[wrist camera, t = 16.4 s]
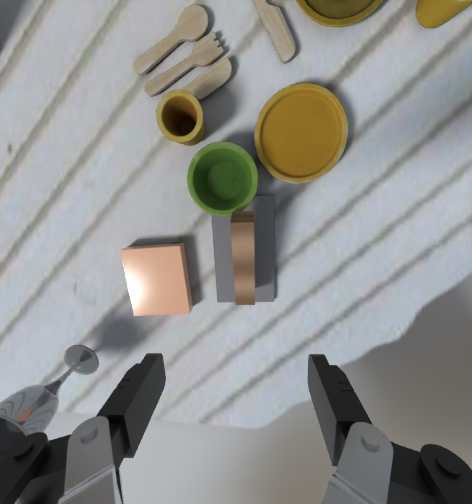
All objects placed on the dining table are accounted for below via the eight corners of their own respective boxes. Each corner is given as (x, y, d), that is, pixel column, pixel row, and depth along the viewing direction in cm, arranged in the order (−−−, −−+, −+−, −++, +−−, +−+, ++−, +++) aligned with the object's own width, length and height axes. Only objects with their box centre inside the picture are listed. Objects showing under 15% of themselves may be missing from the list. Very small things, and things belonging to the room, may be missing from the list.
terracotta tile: (119, 250, 36) (134, 316, 39) (179, 245, 35) (189, 313, 38) (129, 246, 39) (142, 307, 41) (184, 242, 38) (193, 304, 41)
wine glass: (60, 341, 44) (-33, 412, 29) (99, 346, 44) (24, 420, 29) (64, 373, 46) (-22, 455, 31) (101, 378, 46) (32, 463, 31)
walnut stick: (232, 211, 31) (230, 222, 27) (253, 210, 31) (254, 222, 27) (236, 288, 38) (235, 304, 35) (254, 288, 38) (254, 304, 34)
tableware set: (409, -158, 25) (462, -278, 18) (482, 86, 29) (545, 55, 23) (119, 63, 31) (88, 29, 25) (217, 233, 36) (211, 240, 30)
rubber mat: (211, 198, 35) (210, 198, 34) (273, 195, 35) (274, 195, 34) (218, 300, 40) (217, 302, 39) (273, 299, 39) (274, 301, 38)
